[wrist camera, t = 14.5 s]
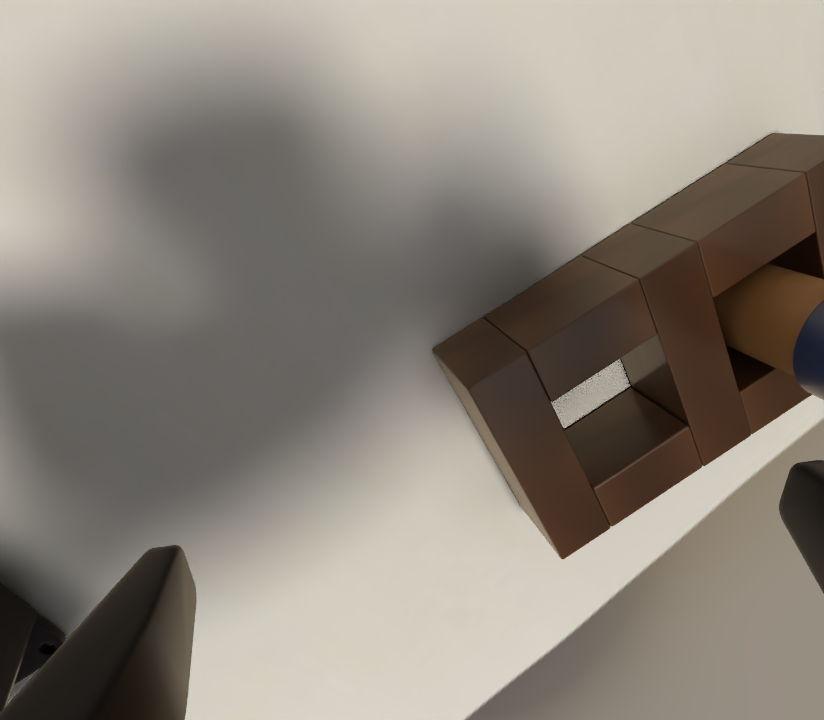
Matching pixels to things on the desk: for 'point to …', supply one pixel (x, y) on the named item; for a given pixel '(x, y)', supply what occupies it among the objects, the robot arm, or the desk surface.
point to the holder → (642, 346)
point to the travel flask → (777, 322)
